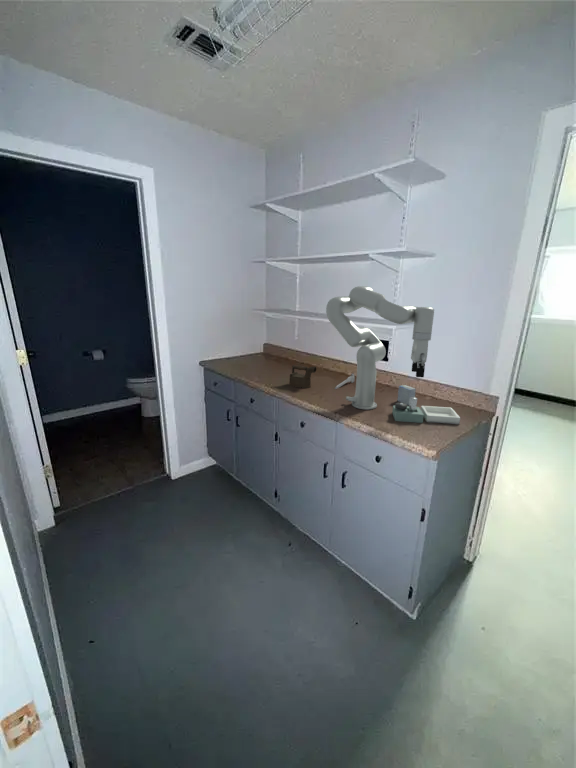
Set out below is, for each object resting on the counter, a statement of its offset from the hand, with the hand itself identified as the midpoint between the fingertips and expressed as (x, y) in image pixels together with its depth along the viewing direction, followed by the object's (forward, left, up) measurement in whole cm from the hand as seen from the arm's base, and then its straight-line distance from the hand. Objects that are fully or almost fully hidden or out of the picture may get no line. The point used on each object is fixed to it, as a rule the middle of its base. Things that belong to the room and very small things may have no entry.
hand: (417, 374), depth 149 cm
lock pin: (0, 0, -21) cm, 21 cm away
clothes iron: (-57, +41, -22) cm, 74 cm away
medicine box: (+1, +22, -22) cm, 31 cm away
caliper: (-31, +48, -22) cm, 61 cm away
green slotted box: (-2, 0, -21) cm, 21 cm away
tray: (+13, +3, -21) cm, 25 cm away
